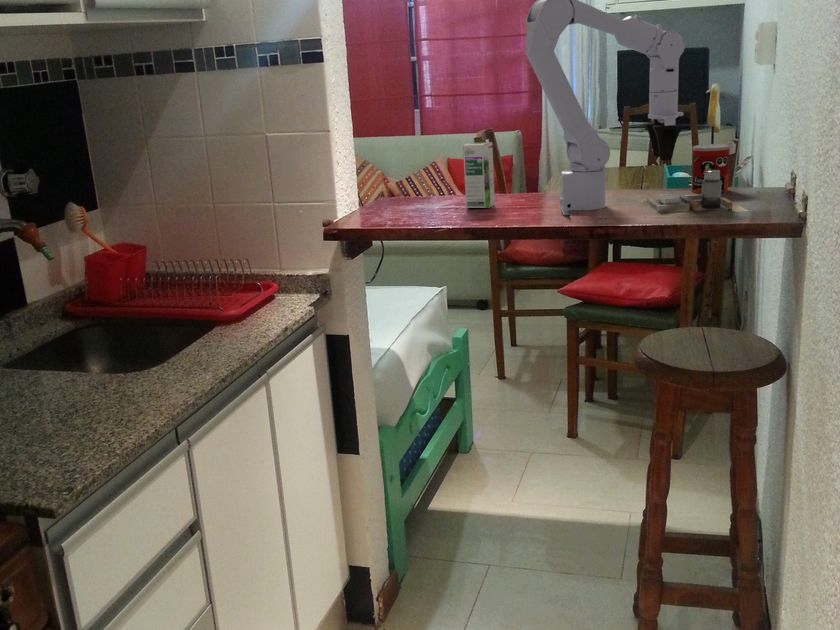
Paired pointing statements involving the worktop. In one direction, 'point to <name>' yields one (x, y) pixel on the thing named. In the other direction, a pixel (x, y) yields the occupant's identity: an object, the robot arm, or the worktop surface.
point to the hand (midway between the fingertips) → (662, 158)
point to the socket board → (692, 206)
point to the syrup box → (478, 175)
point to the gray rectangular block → (668, 199)
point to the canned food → (709, 164)
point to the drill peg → (711, 190)
